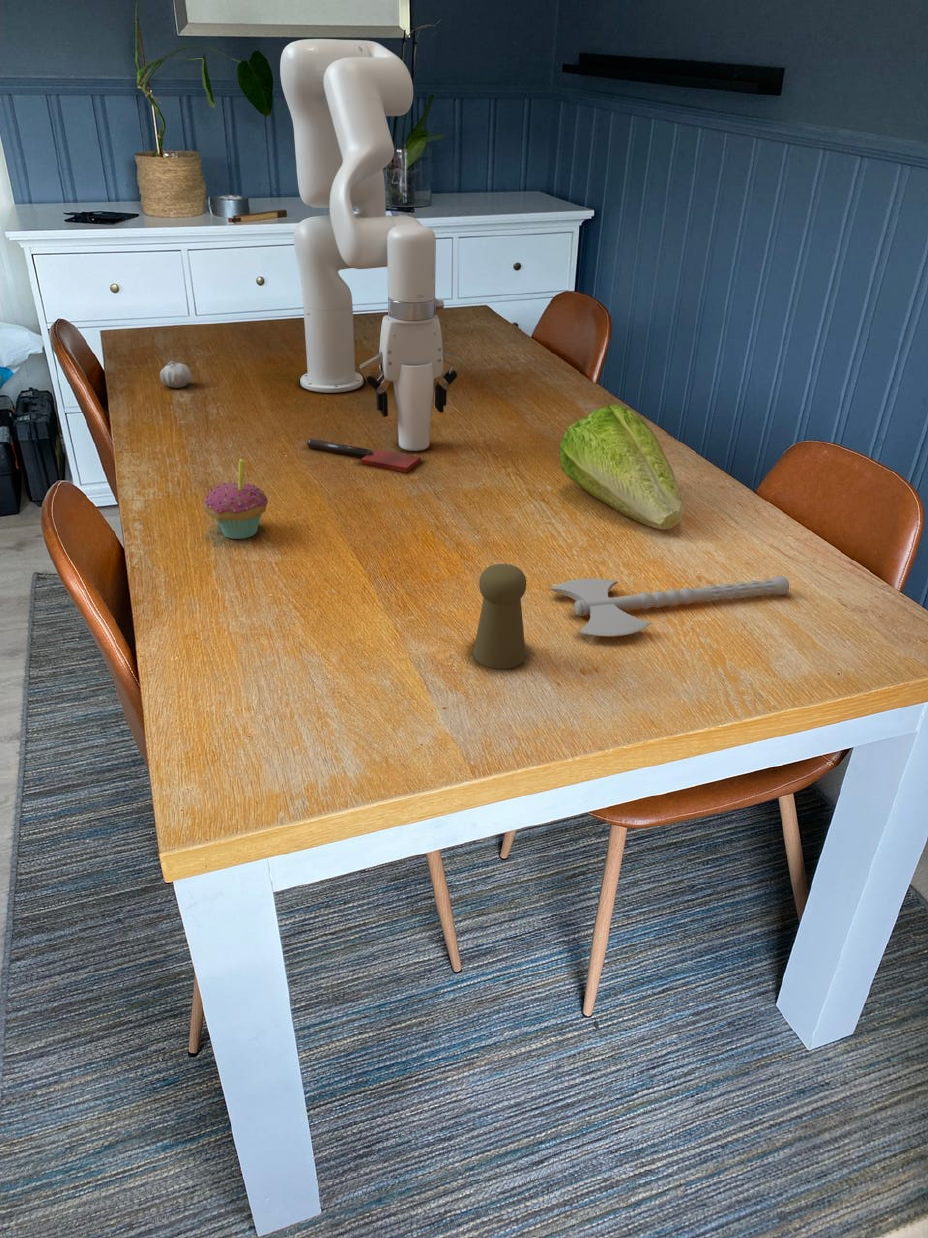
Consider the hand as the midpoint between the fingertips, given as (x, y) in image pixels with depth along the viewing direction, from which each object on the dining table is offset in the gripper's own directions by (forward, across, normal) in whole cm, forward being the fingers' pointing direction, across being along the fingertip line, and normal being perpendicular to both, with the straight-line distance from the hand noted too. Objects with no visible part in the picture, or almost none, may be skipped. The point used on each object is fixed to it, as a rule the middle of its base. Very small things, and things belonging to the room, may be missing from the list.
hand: (411, 411), depth 162 cm
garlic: (+7, +38, -42) cm, 57 cm away
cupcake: (+6, +32, +27) cm, 42 cm away
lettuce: (+6, -25, +32) cm, 41 cm away
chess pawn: (+5, +6, +66) cm, 66 cm away
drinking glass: (+6, 0, 0) cm, 6 cm away
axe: (+5, -19, +61) cm, 64 cm away
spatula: (+6, +9, +3) cm, 11 cm away
